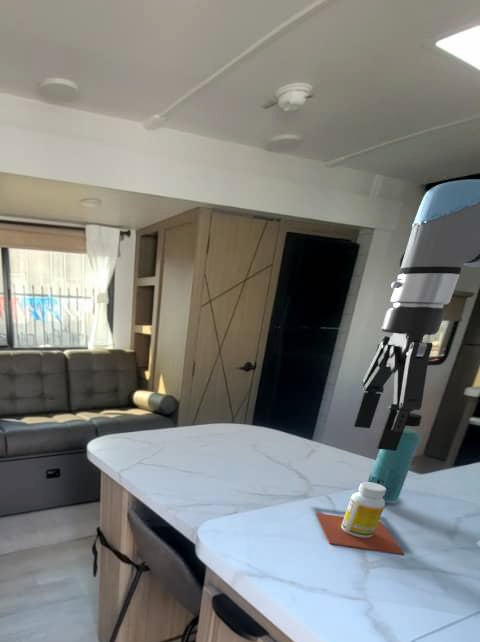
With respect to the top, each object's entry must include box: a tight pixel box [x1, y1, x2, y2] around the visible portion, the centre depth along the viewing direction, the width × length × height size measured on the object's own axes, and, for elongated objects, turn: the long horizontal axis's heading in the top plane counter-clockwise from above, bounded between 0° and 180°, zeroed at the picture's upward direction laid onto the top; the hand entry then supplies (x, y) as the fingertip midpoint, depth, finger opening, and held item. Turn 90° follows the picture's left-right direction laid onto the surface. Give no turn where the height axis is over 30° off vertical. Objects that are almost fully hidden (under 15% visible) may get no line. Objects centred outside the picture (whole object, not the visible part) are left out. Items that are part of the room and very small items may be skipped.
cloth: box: [315, 512, 405, 556], centre depth 78 cm, size 12×12×1 cm
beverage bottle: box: [367, 412, 423, 503], centre depth 86 cm, size 6×7×20 cm
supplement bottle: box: [341, 481, 386, 538], centre depth 75 cm, size 5×5×10 cm
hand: (372, 437), depth 72 cm, fingers open, 13 cm apart
